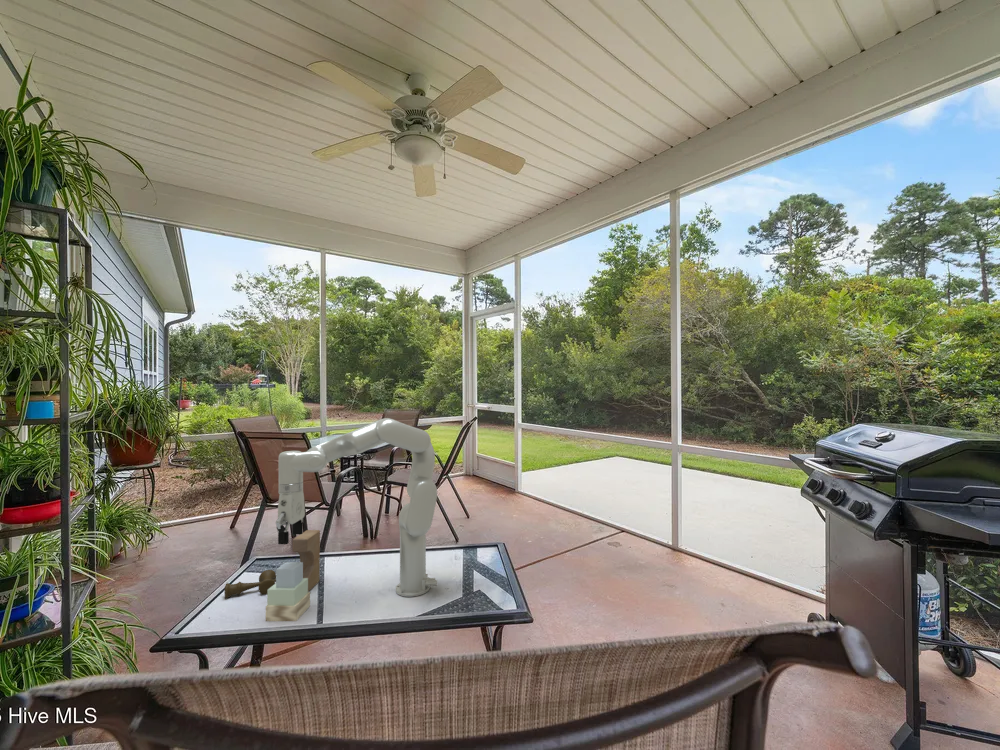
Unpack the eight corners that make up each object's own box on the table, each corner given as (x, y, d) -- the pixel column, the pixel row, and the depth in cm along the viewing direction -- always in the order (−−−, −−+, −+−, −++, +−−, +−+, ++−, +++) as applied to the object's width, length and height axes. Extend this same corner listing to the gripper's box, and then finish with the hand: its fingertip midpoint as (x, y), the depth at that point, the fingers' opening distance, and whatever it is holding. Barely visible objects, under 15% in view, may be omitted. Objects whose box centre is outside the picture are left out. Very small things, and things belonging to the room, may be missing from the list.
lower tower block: (310, 606, 149) (310, 592, 149) (296, 622, 139) (296, 606, 139) (281, 607, 149) (281, 592, 149) (265, 622, 139) (265, 606, 139)
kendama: (226, 593, 160) (286, 581, 169) (223, 605, 152) (286, 591, 161) (225, 577, 160) (285, 565, 169) (222, 588, 152) (286, 575, 161)
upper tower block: (307, 593, 149) (308, 578, 149) (294, 605, 140) (294, 590, 140) (282, 592, 149) (282, 578, 149) (267, 605, 140) (267, 589, 140)
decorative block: (306, 594, 157) (306, 539, 158) (290, 594, 158) (291, 539, 159) (320, 581, 169) (320, 529, 169) (306, 581, 169) (306, 529, 170)
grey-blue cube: (302, 579, 148) (303, 562, 148) (294, 587, 142) (294, 569, 142) (285, 579, 148) (285, 562, 148) (276, 587, 142) (276, 569, 142)
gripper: (289, 493, 137) (289, 548, 137) (313, 482, 155) (313, 530, 154) (265, 494, 138) (265, 548, 137) (292, 482, 155) (292, 530, 154)
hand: (290, 538), depth 145 cm, fingers open, 9 cm apart
